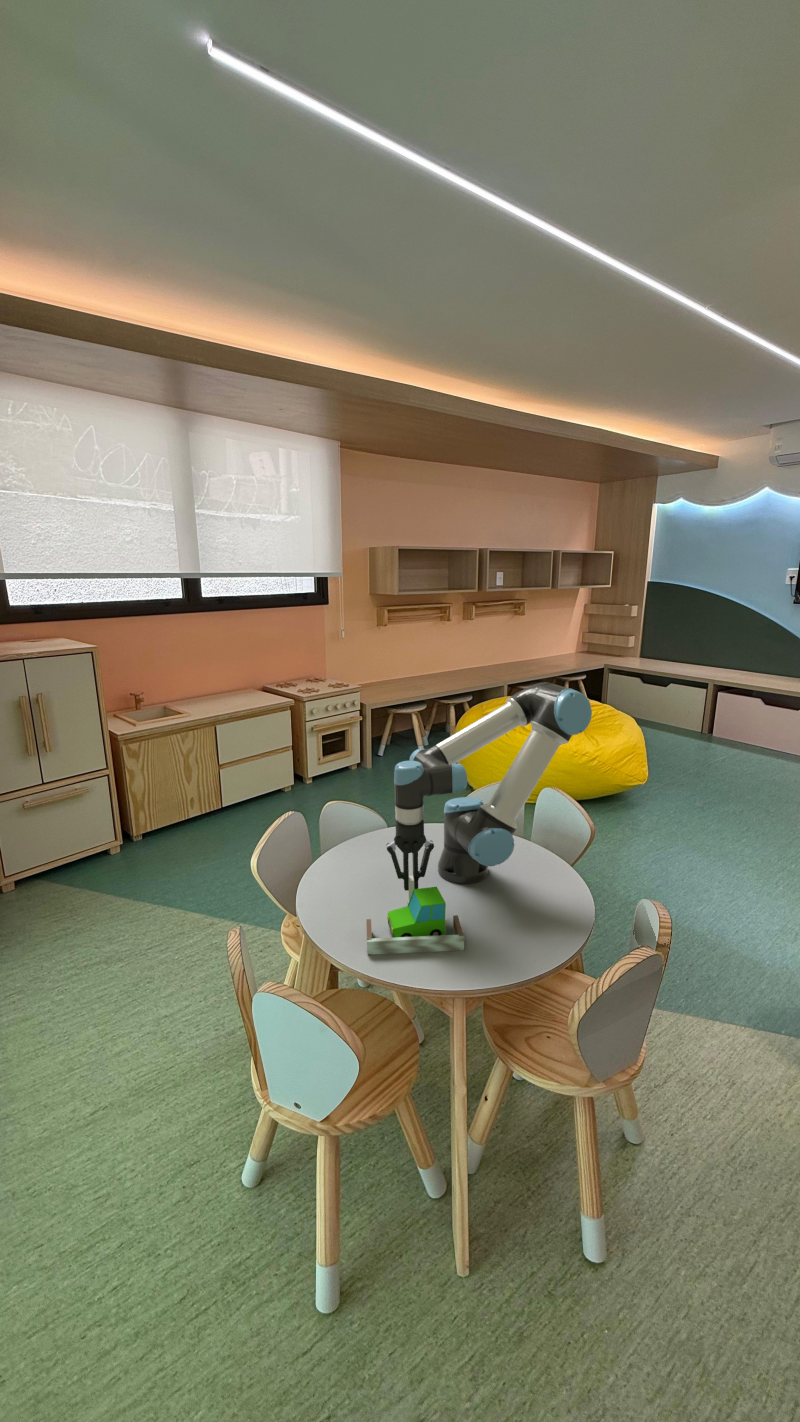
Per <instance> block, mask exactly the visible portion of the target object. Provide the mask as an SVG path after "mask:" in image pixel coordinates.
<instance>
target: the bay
mask: <svg viewBox="0 0 800 1422" xmlns="http://www.w3.org/2000/svg"><path fill="white" fill-rule="evenodd" d="M452 928H453V929H452V930H453V933H454V934H445V935H439V936H417V937H395V938H393V937H379V938H378V937H377V938H376V937H375V938H373V936H372V935H373V933H372V919H371V918H370V919H368V918H367V919H366V955H367V954H372V955H388V954H390V955H391V954H409V953H411V954H412V953H413V954H414V953H430V952H431V953H433V952H436V953H437V952H451V951H454V952H456V951H464V950H465V935H464V932H463V927H462V925H461V921H460V918H459V915H457V914H456V915H453V916H452Z"/></svg>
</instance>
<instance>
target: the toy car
mask: <svg viewBox="0 0 800 1422" xmlns="http://www.w3.org/2000/svg"><path fill="white" fill-rule="evenodd" d="M446 912H447V911H446V901H445V899H444V897H443V895H442V894H441V892H440V890H439V888H438V886H431V887H422V888H418V889H414V890H413V893H412V895H411V898H410V901H409V900H408V902H407V905H406V906H404V907H403V906H402V907H400V908H396V909H393V910H389V911H388V912H387V915H386V918H387V919H386V920H387V924H388V927H389V930H390V933H391V936H392V938H395V937H417V936H439V935H446Z"/></svg>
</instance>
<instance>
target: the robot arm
mask: <svg viewBox="0 0 800 1422" xmlns="http://www.w3.org/2000/svg"><path fill="white" fill-rule="evenodd" d="M592 710H593V709H592V704H591V702H590V700H589V699H588V697H587V696H586V695H585V694H584V693H582V692H580V691H578V690H575V689H573V688H570V687H565V686H563V685H562V686H561V685H559V684H556V683H554V682H553V683H552V682H539V683H535V684H533V685H530V686H528V687H526V688H524V689H522V690H520V691H518V692H515V693H514V694H513V695H511V696H509V697H508V698H506V701H505V704H502V705H501V706H499V707H497V708H496V709H494V710H493V711H491V712H489V713H487V714H486V715H484V716H482V717H480V718H479V719H477V720H475V721H474V722H472V723H471V724H469V725H467V726H465V727H464V728H462V729H461V730H458V731H457V732H455V733H454V734H452V735H450V736H449V737H447V738H445V739H443V740H442V741H440V742H438V743H437V744H435V745H433V746H431V747H430V748H428V749H427V748H417V749H416V750H414V751H413V752H412V753H411V754H410V755H409V760H403V761H400V762H398V763H396V765H395V766H394V773H393V783H394V803H395V804H394V811H395V812H394V813H395V836H394V838H393V841H392V842H390V843H389V842H388V843H386V850H387V852H388V853H389V854H390V857H391V859H392V863H393V867H394V869H395V873H396V876H397V879H399V880H401V879H402V880H403V889H404V891H407V898H408V902H409V901H410V898H411V895H412V893H413V890H414V889H419V880H420V878H424V877H425V876H426V872H427V867H428V865H429V860H430V856H431V853H432V851H433V849H434V848H435V843H434V842H433V840H432V839H430V840H429V839H427V837H426V835H425V821H424V818H425V811H424V810H425V809H424V804H425V801H424V798H427V797H432V796H439V795H445V794H446V795H447V794H454V793H458V792H462V791H464V790H465V789H466V788H467V786H468V774H467V771H466V769H465V766H464V765H463V764H461V763H459V762H460V761H462V760H463V759H466V758H467V757H469V756H471V755H472V754H474V753H476V752H477V751H479V750H480V749H482V748H484V747H486V746H487V745H488V744H491V743H492V742H494V741H495V740H497V739H499V738H500V737H502V736H504V735H507V734H508V733H509V732H511V731H513V730H514V729H516V728H518V727H526V726H528V725H529V724H531V731H530V733H529V735H528V736H527V738H526V739H525V741H524V743H523V744H522V746H521V748H520V750H518V751H519V752H518V753H517V755H516V756H515V758H514V759H513V762H512V763H511V765H510V766H509V768H508V770H507V772H506V773H505V775H504V776H503V778H502V780H501V782H500V783H499V784H498V786H497V789H496V790H495V792H494V793H493V794H492V797H491V798H490V800H489V802H487V803H486V804H484V801H483V800H482V799H479V798H477V797H476V798H475V797H468V796H467V797H465V796H463V797H455V798H452V799H451V798H450V799H449V800H447V801H446V802H445V803H444V809H443V849H442V852H441V855H440V857H439V860H438V863H437V872H438V874H439V876H440V877H441V878H443V879H444V880H447V881H449V882H452V883H457V884H473V883H477V882H480V881H483V880H484V879H486V877H487V876H488V873H489V867H495V866H497V865H499V866H500V865H501V864H503V863H505V862H506V861H507V860H509V858H510V857H511V855H512V854H513V852H514V850H515V840H514V836H513V835H514V834H515V832H516V830H517V829H518V825H517V821H516V819H517V818H518V816H519V814H520V813H521V811H522V809H523V808H524V806H525V804H526V803H527V801H528V800H529V797H530V796H531V794H532V793H533V791H534V789H535V788H536V786H537V784H538V782H539V781H540V779H542V778H541V777H542V776H543V774H544V773H545V771H546V770H547V768H548V766H549V765H550V763H551V760H552V759H553V758H554V756H555V754H556V753H557V751H558V749H559V747H560V746H562V745H566V744H568V743H569V742H570V740H571V738H572V736H574V735H575V736H576V735H579V734H580V733H581V734H582V733H583V732H584V731H586V729H587V728H588V727H589V725H590V723H591V721H592V716H593V713H592ZM423 846H424V849H423V854H422V857H421V863H420V866H419V851H420V850H421V849H422V847H423ZM396 848H398V849H399V850H400V851H401V853H402V862H403V863H402V864H403V865H402V866H403V867H402V868H403V870H402V871H401V866H400V864H399V860H398V857H397V854H396V850H397V849H396ZM409 854H412V875H409V872H410V871H409V866H410V865H409Z"/></svg>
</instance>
